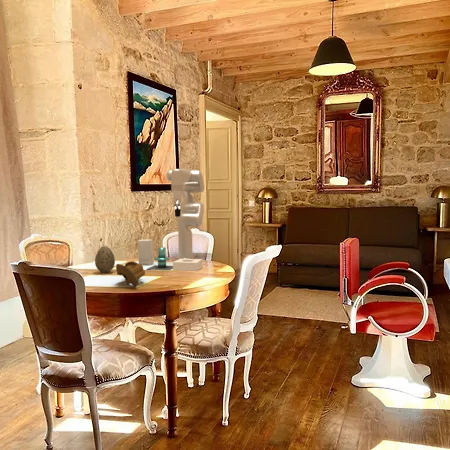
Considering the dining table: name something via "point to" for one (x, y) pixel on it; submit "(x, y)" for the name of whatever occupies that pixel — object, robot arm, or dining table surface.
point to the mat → (160, 268)
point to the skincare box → (145, 252)
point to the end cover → (161, 257)
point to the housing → (187, 264)
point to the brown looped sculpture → (131, 272)
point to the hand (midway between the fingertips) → (177, 216)
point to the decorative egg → (104, 259)
